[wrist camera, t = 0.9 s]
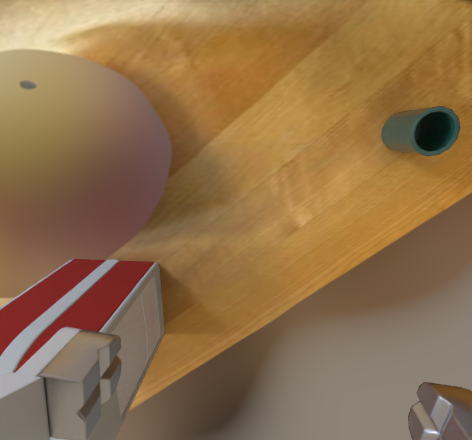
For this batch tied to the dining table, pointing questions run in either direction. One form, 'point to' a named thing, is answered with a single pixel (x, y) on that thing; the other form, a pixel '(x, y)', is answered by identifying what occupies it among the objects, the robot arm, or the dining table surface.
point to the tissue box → (91, 322)
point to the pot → (421, 131)
